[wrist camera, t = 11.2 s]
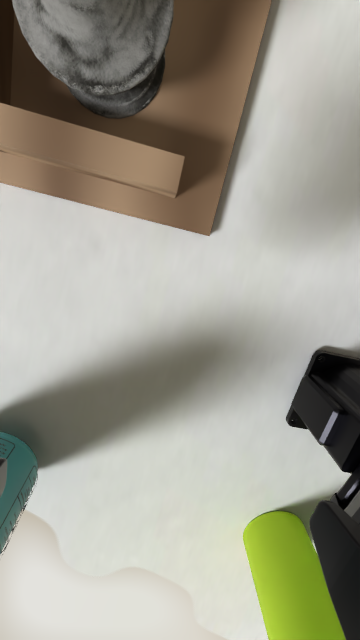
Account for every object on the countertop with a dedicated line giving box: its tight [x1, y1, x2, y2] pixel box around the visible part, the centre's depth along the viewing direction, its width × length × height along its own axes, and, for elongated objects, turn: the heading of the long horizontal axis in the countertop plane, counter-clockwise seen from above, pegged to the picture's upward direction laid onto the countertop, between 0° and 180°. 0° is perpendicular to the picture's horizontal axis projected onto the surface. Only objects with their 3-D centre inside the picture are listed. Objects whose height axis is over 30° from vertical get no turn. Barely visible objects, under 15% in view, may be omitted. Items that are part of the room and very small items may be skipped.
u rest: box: [0, 0, 272, 236], centre depth 12 cm, size 16×14×4 cm
